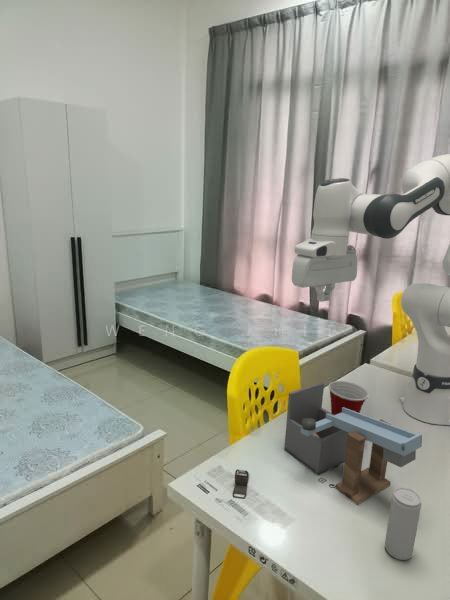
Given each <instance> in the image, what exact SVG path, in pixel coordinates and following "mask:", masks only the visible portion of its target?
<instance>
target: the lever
mask: <svg viewBox="0 0 450 600" xmlns="http://www.w3.org/2000/svg"><path fill="white" fill-rule="evenodd" d="M379 420H380V419H376V418H373V417H371V416H368V415H365V414H364V413H361V412H360V413H358V412H355V411H352V410H349V409H347V408H344V407H342V413H339V414H337V415H334V416H332V415H330V414H327V413H326V418H325V419H323V420H320V421H318V422H316V420H315V419H312V418H304V419H302V428H301V433H302V434H304V435H306V436H309V435H312V434H314V433H317V432H319V431H322V430H324V429H327V428H329V427H331V426H335V427H337V428H339V429H342V430H344V431H346V432H349V433H351V432H353V431H354V432H356V433H358V434H359V435H361V436H363V437H365V441H368V442H369V443H370V442H371V443H372V444H373V443H375V444H377V445H379V446H382V447H383V460H385V461H387V463H390V464H392V465H395V466H397V467H399V468H403V467H404V466H406V465H408V464H410V463H412V462H413V461H416V457H417V456H416V455H417V454H416V453H417V452H416V450H418V449H419V448H422V447H423V434H422V433H419V432H418V433H414V432H412V431H408V430H407V429H403V428H401V427H398V426H395V425H392V424H391V423H389V424H387V423H388V422H387V423H385V422H386V421H385V422H382V421H379ZM390 424H391V425H390Z"/></svg>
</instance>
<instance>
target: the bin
mask: <svg viewBox="0 0 450 600" xmlns="http://www.w3.org/2000/svg"><path fill="white" fill-rule="evenodd" d="M324 389H325V383H324V382H319V383H315V384H312V385H309V386H306V387H303V388H299V389H297V390H292V391H291V392H288V399H287V400H288V401H287V412H286V424H285V425H286V426H285V436H284V437H285V438H284V451H285V452H286V453H288V454H289V455H290V456H292V457H293V458H294V459H296V461H298V462H299V463H300V464H303V466H305V467H306V468H308V470H310V471H311V472H313V473H314V474H315V475H316V476H320V475H321V474H323V473H326V472H328V471H331V469H334V468H337V467H338V466H340V465H342V464H344V460H345V452H346V444H347V436H348V434H349V432H346V431H344V430H342V429H339V428H337V427H335V426H331V427H329V428H327V429H324V430H322V431H319V432H317V433H315V434H317V435H318V436H319V437H318V436H317V435H315V434H312V435H309V436H306V435H304V434H302V433H301V428H302V419H304V418H312V419H315V420H316V422H318V421H320V420H323V419H325V418H326V413H327V414H330V415H332V416H334V415H333V414H331V412H329V411H328V410H326V409H324V408H323V407H322V406H323V399H324V398H323V397H324V391H325V390H324Z"/></svg>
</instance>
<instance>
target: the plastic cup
mask: <svg viewBox="0 0 450 600" xmlns="http://www.w3.org/2000/svg"><path fill="white" fill-rule="evenodd" d="M328 390H329V398H330V411H331V412H330V413H331V414H333V415H337V414H339V413H342V407H344V408H347V409H349V410H352V411H355V412H358V413H360V414H361V411H362V407H363V405H364V403H366V402H365V401H366V400H367V399H369V395H370V394H369V392H368V390H367V389H365V388H364V387H363V386H361V385H359V384H356V383H353V382H351V381H347V380H346V381H344V380H334V381H331V382H329V384H328Z"/></svg>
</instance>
